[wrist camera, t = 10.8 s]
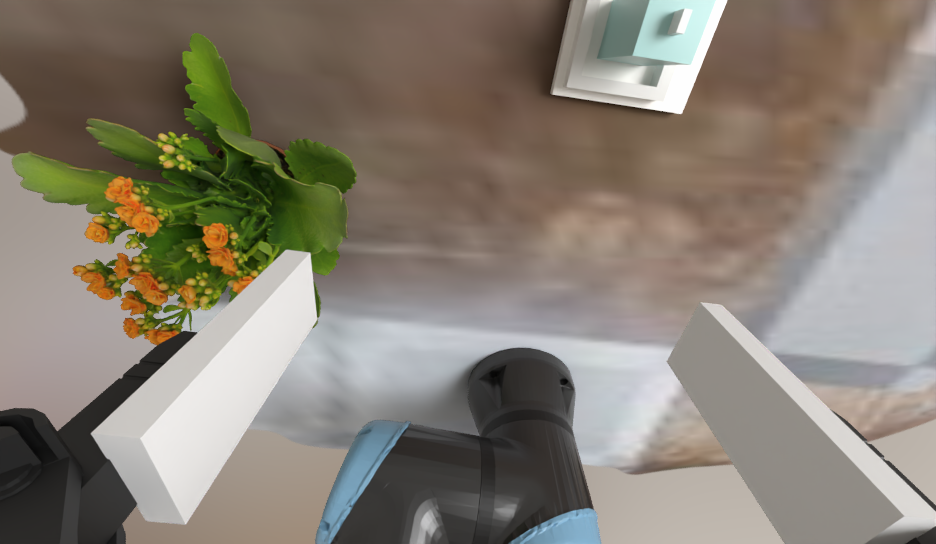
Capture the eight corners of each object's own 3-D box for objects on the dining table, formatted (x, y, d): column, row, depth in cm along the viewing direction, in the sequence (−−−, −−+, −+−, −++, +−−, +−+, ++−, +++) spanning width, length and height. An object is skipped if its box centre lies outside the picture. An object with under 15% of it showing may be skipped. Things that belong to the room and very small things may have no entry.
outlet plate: (675, 112, 33) (690, 115, 31) (550, 93, 33) (555, 95, 30) (755, -92, 26) (782, -108, 24) (597, -120, 26) (609, -140, 23)
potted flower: (120, 12, 30) (-239, -46, 15) (394, 73, 32) (319, 77, 17) (180, 262, 43) (15, 369, 27) (376, 297, 44) (323, 415, 29)
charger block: (642, 65, 30) (701, 64, 22) (596, 58, 30) (639, 55, 22) (661, 8, 28) (732, -16, 20) (612, 0, 28) (665, -27, 20)
